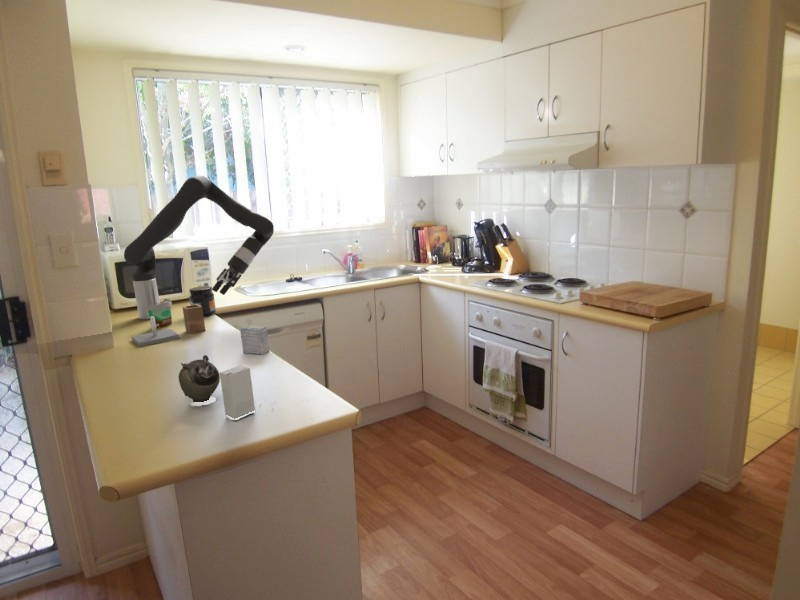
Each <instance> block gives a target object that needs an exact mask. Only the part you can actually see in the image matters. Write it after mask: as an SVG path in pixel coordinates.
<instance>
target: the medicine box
mask: <svg viewBox="0 0 800 600" xmlns="http://www.w3.org/2000/svg"><path fill="white" fill-rule="evenodd" d="M239 329H240V330H239V331H240V338H241V346H242V352H247V353H246V354H250V353H257V354H256V355H260V354H262V355H264V354H266V353H268V352H270V344H269V336H268V329H267V327H266V326H260V325H245V326H243V327H242V328H239ZM267 351H268V352H267Z"/></svg>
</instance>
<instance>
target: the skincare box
mask: <svg viewBox="0 0 800 600" xmlns="http://www.w3.org/2000/svg"><path fill="white" fill-rule="evenodd" d="M219 375H220V386H221V392H222V400H223V406H224V407H223V408H224V414H225V416H226V415H228V416H230V417H232V418H234V419H235V418H238V417H240V416H243V415H245V414H248V413H249V412H252V411H254V410H255V411H256V407H255V399H254V390H253V383H252V376H251V369H250V367H248V366H244V365H237V366H235V367H231V368H229V369H226V370H223V371H220V372H219Z"/></svg>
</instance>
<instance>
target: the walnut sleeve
mask: <svg viewBox="0 0 800 600" xmlns="http://www.w3.org/2000/svg"><path fill="white" fill-rule="evenodd" d="M181 308H182V313H183V320H184V328H185V332H186V333H188V334H190V335H191V334H192V335H193V334H197V333H203V332H206V326H205V318H204V317H203V309H202V306H200V305H198V304H195V305H190V304H189V305H185V306H182V307H181Z"/></svg>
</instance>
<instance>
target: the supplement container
mask: <svg viewBox="0 0 800 600" xmlns="http://www.w3.org/2000/svg"><path fill="white" fill-rule="evenodd" d="M212 288H213V286H210V285H203V286H196V287H191V288H189V291H188V292H189V296H188V298H189V299H188V300H189V305H195V304H198V305H200V306H202V309H203V317H209V316H213V315H215V314H216V312H217V309H216V301H215V294H214V293H213V290H212Z"/></svg>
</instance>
